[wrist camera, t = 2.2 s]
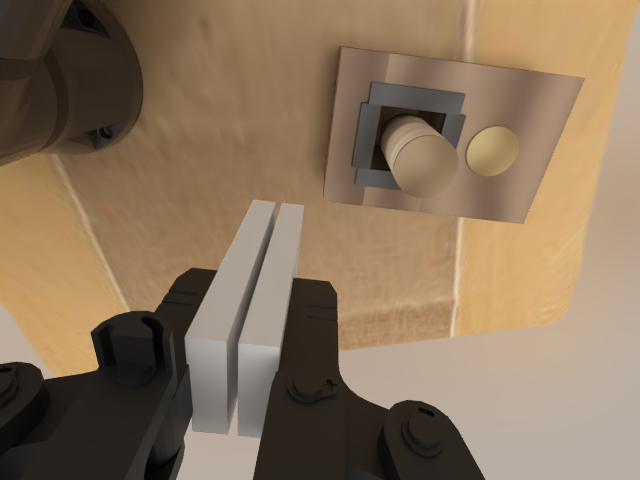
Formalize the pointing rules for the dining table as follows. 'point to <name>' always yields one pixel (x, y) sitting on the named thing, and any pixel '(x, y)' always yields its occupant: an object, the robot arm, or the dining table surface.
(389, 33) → the dining table surface
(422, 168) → the oak peg
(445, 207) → the socket block
